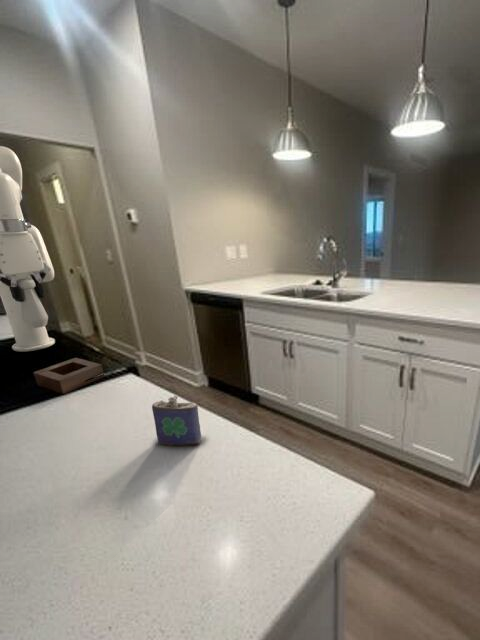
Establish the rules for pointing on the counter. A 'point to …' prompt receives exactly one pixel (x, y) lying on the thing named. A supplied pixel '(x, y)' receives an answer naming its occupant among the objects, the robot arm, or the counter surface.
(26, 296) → the salt shaker
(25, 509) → the counter surface
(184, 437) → the flask
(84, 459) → the counter surface
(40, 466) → the counter surface
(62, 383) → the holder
